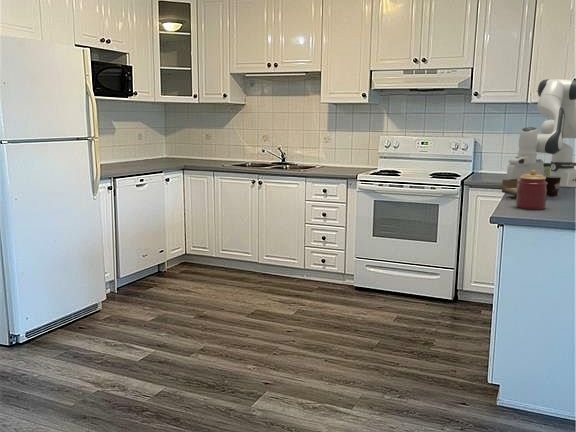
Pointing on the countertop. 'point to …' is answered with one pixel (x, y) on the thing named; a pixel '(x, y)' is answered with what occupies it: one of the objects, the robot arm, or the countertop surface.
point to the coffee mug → (552, 185)
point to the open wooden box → (509, 185)
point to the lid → (512, 189)
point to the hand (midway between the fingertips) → (524, 186)
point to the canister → (531, 191)
